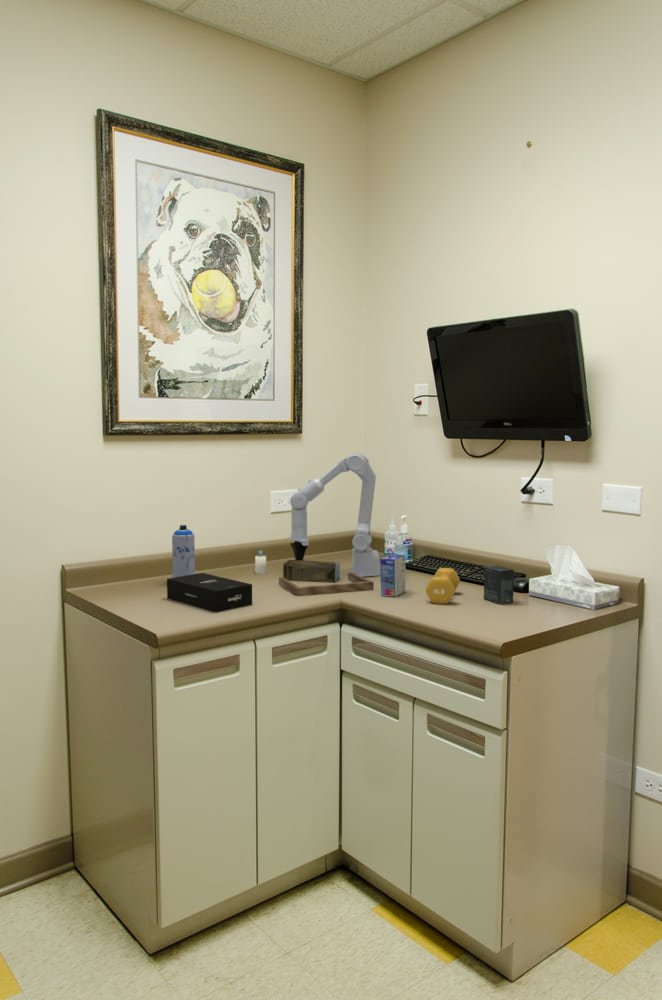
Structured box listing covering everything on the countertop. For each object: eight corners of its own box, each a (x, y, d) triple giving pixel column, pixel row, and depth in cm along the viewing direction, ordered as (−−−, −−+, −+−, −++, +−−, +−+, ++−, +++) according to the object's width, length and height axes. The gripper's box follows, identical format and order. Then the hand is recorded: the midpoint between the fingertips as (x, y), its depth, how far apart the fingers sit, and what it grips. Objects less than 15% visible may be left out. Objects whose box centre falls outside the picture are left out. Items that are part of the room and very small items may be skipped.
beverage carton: (335, 583, 262) (335, 564, 262) (282, 581, 266) (281, 562, 266) (340, 579, 270) (340, 560, 269) (288, 576, 274) (288, 558, 273)
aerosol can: (193, 580, 265) (193, 523, 263) (197, 585, 258) (196, 526, 256) (170, 581, 263) (170, 524, 261) (173, 586, 255) (172, 527, 253)
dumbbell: (433, 590, 251) (433, 566, 250) (460, 592, 249) (461, 568, 248) (424, 604, 233) (424, 577, 232) (453, 606, 231) (454, 579, 230)
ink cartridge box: (390, 589, 252) (390, 546, 251) (406, 591, 250) (406, 547, 248) (379, 595, 243) (379, 550, 242) (395, 597, 241) (396, 552, 240)
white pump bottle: (264, 571, 282) (264, 549, 282) (267, 573, 279) (267, 551, 278) (254, 571, 281) (253, 550, 280) (257, 573, 277) (257, 552, 276)
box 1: (167, 599, 238) (166, 578, 237) (202, 592, 248) (202, 572, 247) (216, 613, 221) (216, 591, 220) (252, 605, 231) (252, 584, 230)
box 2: (513, 602, 235) (514, 568, 234) (498, 604, 232) (499, 570, 231) (497, 597, 242) (498, 564, 241) (483, 599, 239) (483, 566, 238)
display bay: (351, 579, 269) (351, 572, 268) (373, 589, 252) (373, 582, 252) (278, 584, 259) (278, 577, 258) (296, 596, 242) (296, 588, 242)
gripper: (282, 523, 283) (282, 559, 284) (295, 528, 270) (295, 566, 271) (300, 522, 286) (300, 558, 287) (314, 527, 272) (314, 565, 274)
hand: (299, 562), depth 279 cm, fingers closed
